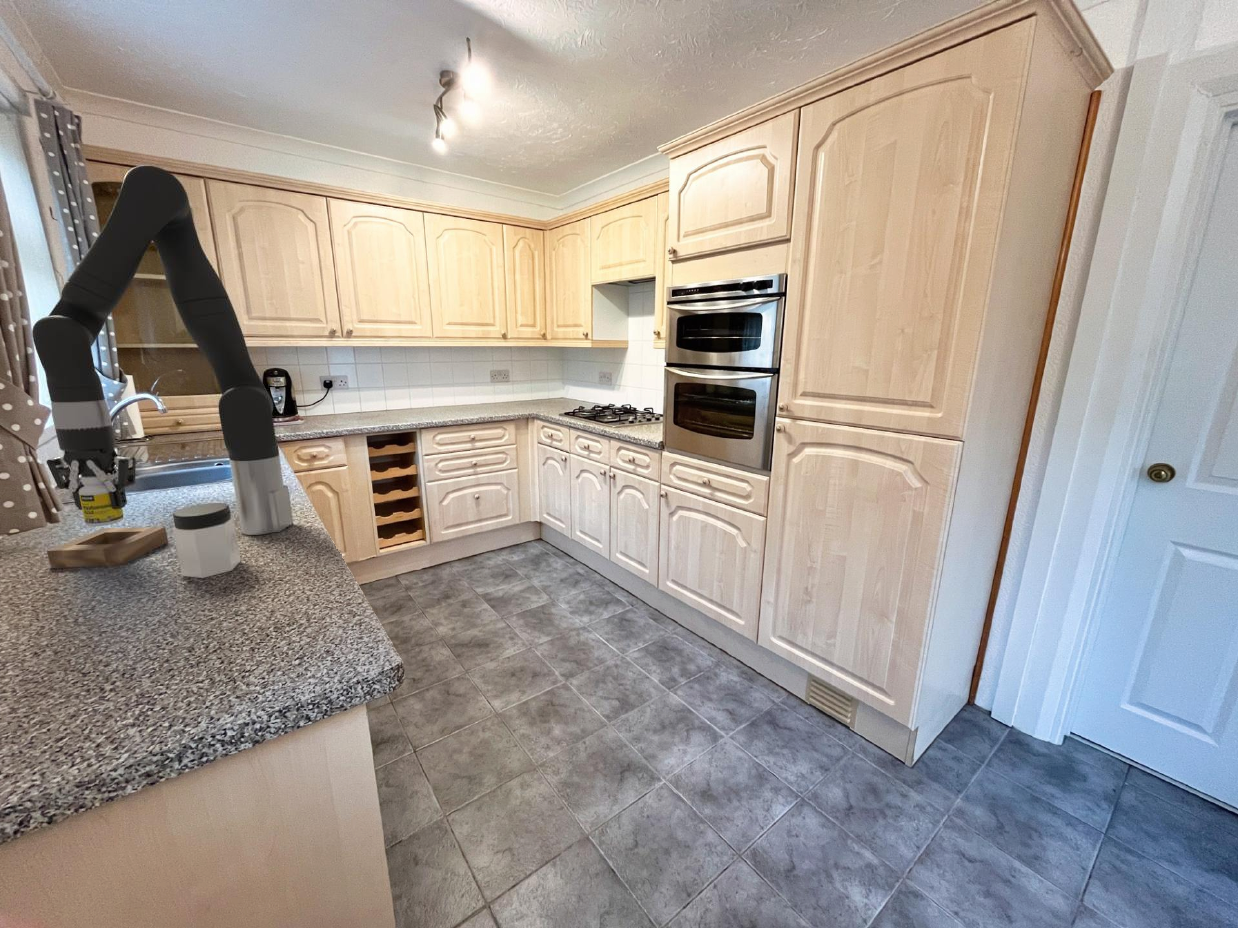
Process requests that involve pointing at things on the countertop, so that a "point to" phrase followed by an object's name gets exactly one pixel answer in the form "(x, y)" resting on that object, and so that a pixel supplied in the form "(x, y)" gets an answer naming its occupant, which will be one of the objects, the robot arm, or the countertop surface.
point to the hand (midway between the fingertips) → (102, 508)
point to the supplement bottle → (97, 503)
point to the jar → (205, 540)
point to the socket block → (107, 547)
